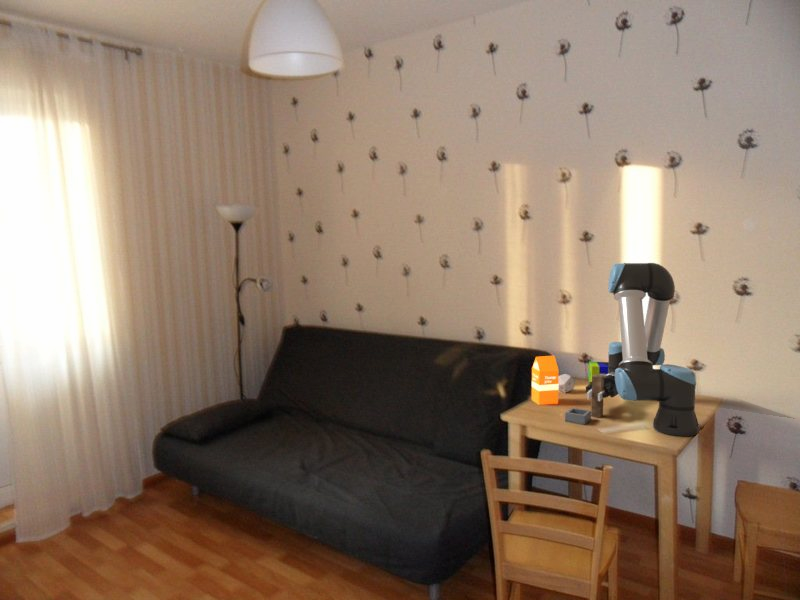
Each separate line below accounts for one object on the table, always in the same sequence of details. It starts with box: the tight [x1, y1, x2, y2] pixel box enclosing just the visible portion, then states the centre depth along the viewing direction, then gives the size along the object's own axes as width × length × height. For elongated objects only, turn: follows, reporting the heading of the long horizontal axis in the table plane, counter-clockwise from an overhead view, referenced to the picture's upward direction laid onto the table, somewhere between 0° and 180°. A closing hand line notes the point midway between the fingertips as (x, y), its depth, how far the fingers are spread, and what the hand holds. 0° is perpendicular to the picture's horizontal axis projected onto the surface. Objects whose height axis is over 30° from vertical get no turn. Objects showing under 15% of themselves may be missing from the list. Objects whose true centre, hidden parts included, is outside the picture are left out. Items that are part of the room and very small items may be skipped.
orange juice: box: [531, 355, 559, 406], centre depth 240 cm, size 8×9×20 cm
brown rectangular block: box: [590, 375, 604, 418], centre depth 221 cm, size 4×4×16 cm
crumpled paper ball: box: [558, 373, 576, 394], centre depth 256 cm, size 8×9×10 cm
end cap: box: [564, 407, 592, 426], centre depth 216 cm, size 8×8×4 cm
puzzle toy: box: [588, 361, 609, 384], centre depth 266 cm, size 10×10×10 cm
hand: (593, 396), depth 216 cm, fingers closed on brown rectangular block, 3 cm apart
